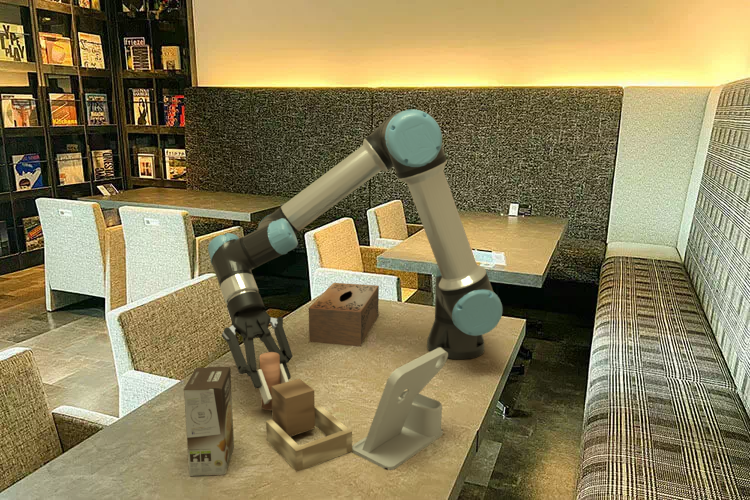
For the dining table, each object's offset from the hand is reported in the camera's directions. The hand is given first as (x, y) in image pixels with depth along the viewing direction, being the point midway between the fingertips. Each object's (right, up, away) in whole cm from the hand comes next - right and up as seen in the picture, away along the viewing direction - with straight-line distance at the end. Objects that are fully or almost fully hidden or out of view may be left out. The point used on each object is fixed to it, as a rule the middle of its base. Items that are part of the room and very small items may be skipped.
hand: (278, 398), depth 115 cm
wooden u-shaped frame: (+7, -7, -8) cm, 12 cm away
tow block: (+1, -3, -1) cm, 4 cm away
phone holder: (+24, -7, -7) cm, 26 cm away
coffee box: (-10, -8, -13) cm, 18 cm away
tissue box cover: (+11, +7, +53) cm, 54 cm away
